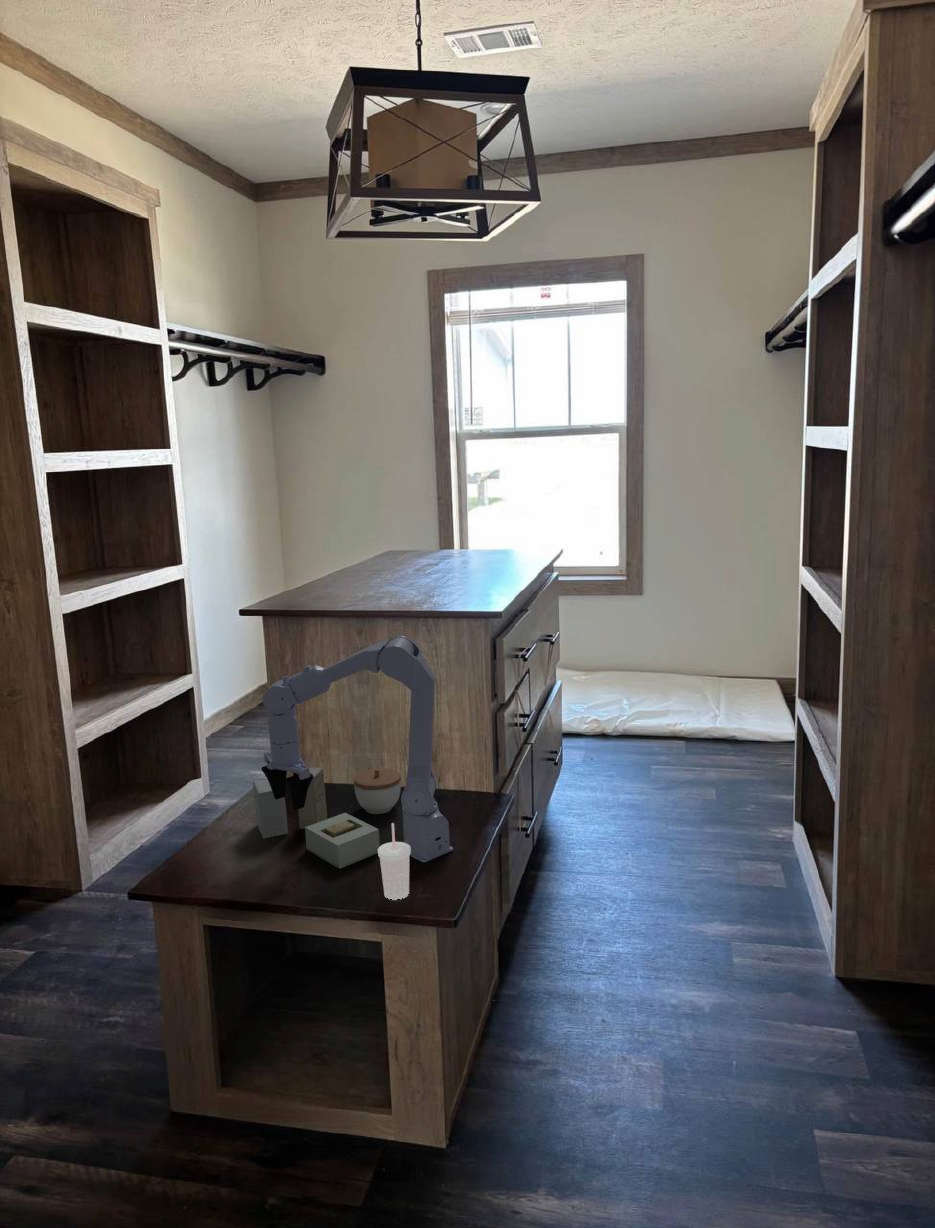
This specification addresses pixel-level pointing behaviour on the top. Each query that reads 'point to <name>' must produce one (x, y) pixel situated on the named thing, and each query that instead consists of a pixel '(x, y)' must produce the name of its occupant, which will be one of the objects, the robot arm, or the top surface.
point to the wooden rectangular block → (340, 829)
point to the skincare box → (314, 800)
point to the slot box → (342, 841)
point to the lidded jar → (377, 789)
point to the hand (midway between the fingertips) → (289, 803)
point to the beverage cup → (395, 868)
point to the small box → (269, 810)
